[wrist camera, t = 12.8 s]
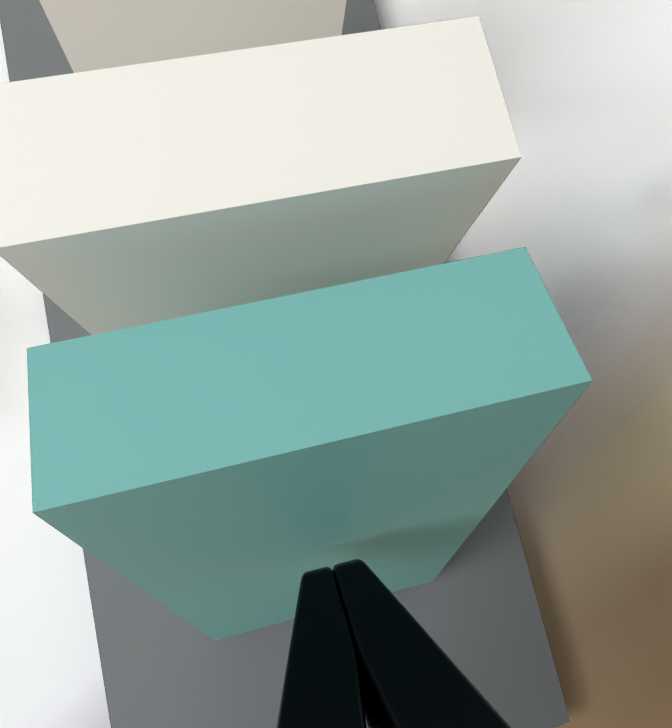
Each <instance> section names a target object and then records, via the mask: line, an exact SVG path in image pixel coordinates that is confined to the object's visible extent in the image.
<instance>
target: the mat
mask: <svg viewBox="0 0 672 728" xmlns="http://www.w3.org/2000/svg"><path fill="white" fill-rule="evenodd" d="M0 23H1V29H2V36H3V42H4V48H5V55H6V61H7V67H8V74H9V80H10V82H14V81H21V80H28V79H35V78H42V77H50V76H57V75H64V74H71V73H74V72H73V70H72V68H71V66H70V64H69V62H68V60H67V57H66V55H65V53H64V51H63V49H62V47H61V45H60V43H59V41H58V39H57V37H56V34H55V32H54V30H53V28H52V26H51V24H50V22H49V20H48V18H47V16H46V13H45V11H44V9H43V7H42V5H41V3H40V1H39V0H0ZM376 30H381V27H380V24H379V20H378V16H377V13H376V9H375V5H374V2H373V0H346V7H345V14H344V21H343V28H342V35H348V34H355V33H362V32H369V31H376ZM444 263H445V262H444ZM43 297H44V303H45V310H46V316H47V323H48V329H49V335H50V342H51V343H55V342H60V341H65V340H70V339H75V338H80V337H85V336H89V335H91V334H90V333H89V332H88V331H86V330H85V329H84V328H83V327H82V326H81V325H80V324H78V323H77V322H76V321H75V320H74V319H73V318H71V317H70V316H69V315H68V314H67V313H66V312H65V311H63V310H62V309H61V308H60V307H59V306H58V305H56V304H55V303H54V302H53V301H52V300H51V299H50V298H48V297H47V296H46V295H45V294H44V293H43ZM83 552H84V559H85V565H86V571H87V578H88V584H89V590H90V597H91V603H92V610H93V616H94V622H95V629H96V635H97V642H98V648H99V654H100V661H101V667H102V673H103V680H104V686H105V693H106V699H107V705H108V712H109V718H110V724H111V728H276V724H277V718H278V712H279V706H280V700H281V694H282V688H283V682H284V676H285V670H286V665H287V659H288V653H289V647H290V641H291V635H292V629H293V623H294V619H292V620H289V621H285V622H281V623H278V624H274V625H270V626H267V627H263V628H259V629H256V630H252V631H248V632H245V633H241V634H237V635H234V636H230V637H226V638H223V639H219V640H213V639H212V638H210V637H209V636H208V635H206V634H205V633H203V632H202V631H200V630H199V629H198V628H196V627H195V626H193V625H192V624H190V623H189V622H188V621H186V620H185V619H183V618H182V617H181V616H179V615H178V614H176V613H175V612H173V611H172V610H171V609H169V608H168V607H166V606H165V605H163V604H162V603H161V602H159V601H158V600H156V599H155V598H153V597H152V596H151V595H149V594H148V593H146V592H145V591H144V590H142V589H141V588H139V587H138V586H136V585H135V584H134V583H132V582H131V581H129V580H128V579H126V578H125V577H124V576H122V575H121V574H119V573H118V572H117V571H115V570H114V569H112V568H111V567H109V566H108V565H107V564H105V563H104V562H102V561H101V560H99V559H98V558H97V557H95V556H94V555H92V554H91V553H89V552H88V551H87V550H85V549H84V548H83ZM392 594H393V595H394V596H395V597H396V598H397V599H398V600H399V601H400V603H401V604H402V605H403V606H404V607H405V608H406V609H407V611H408V612H409V613H410V614H411V615H412V616H413V617H414V618H415V620H416V621H417V622H418V623H419V624H420V625H421V626H422V627H423V629H424V630H425V631H426V632H427V633H428V634H429V635H430V636H431V638H432V639H433V640H434V641H435V642H436V643H437V644H438V646H439V647H440V648H441V649H442V650H443V651H444V652H445V653H446V655H447V656H448V657H449V658H450V659H451V660H452V661H453V662H454V664H455V665H456V666H457V667H458V668H459V669H460V670H461V671H462V673H463V674H464V675H465V676H466V677H467V678H468V679H469V681H470V682H471V683H472V684H473V685H474V686H475V687H476V688H477V690H478V691H479V692H480V693H481V694H482V695H483V696H484V697H485V699H486V700H487V701H488V702H489V703H490V704H491V705H492V706H493V708H494V709H495V710H496V711H497V712H498V713H499V714H500V715H501V717H502V718H503V719H504V720H505V721H506V722H507V723H508V725H509V726H510V727H511V728H552V727H555V726H558V725H562V724H565V723H568V722H570V719H569V715H568V712H567V708H566V704H565V701H564V697H563V693H562V690H561V686H560V682H559V679H558V675H557V671H556V668H555V664H554V660H553V657H552V653H551V649H550V646H549V642H548V638H547V635H546V631H545V627H544V624H543V620H542V616H541V613H540V609H539V606H538V602H537V598H536V595H535V591H534V587H533V584H532V580H531V576H530V573H529V569H528V565H527V562H526V558H525V554H524V551H523V547H522V543H521V540H520V536H519V532H518V529H517V525H516V521H515V518H514V514H513V510H512V507H511V503H510V499H509V496H508V492H507V488H506V490H505V491H504V492H503V493H502V495H501V496H500V497H499V498H498V500H497V501H496V502H495V503H494V505H493V506H492V507H491V508H490V510H489V511H488V512H487V513H486V515H485V516H484V517H483V518H482V520H481V521H480V522H479V523H478V525H477V526H476V527H475V528H474V530H473V531H472V532H471V534H470V535H469V536H468V537H467V539H466V540H465V541H464V542H463V544H462V545H461V546H460V547H459V549H458V550H457V551H456V552H455V554H454V555H453V556H452V557H451V559H450V560H449V561H448V562H447V564H446V565H445V566H444V567H443V569H442V570H441V571H440V572H439V574H438V575H437V576H436V578H435V579H434V580H433V581H432V582H428V583H424V584H421V585H417V586H413V587H410V588H406V589H402V590H399V591H395V592H392ZM366 725H367V722H366ZM367 728H368V726H367Z"/></svg>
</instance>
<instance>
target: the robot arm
mask: <svg viewBox="0 0 672 728" xmlns="http://www.w3.org/2000/svg"><path fill="white" fill-rule="evenodd" d="M366 722H367V725H366ZM367 726H368V728H511V727H510V726H509V725H508V723H507V722H506V721H505V720H504V719H503V718H502V717H501V715H500V714H499V713H498V712H497V711H496V710H495V709H494V708H493V706H492V705H491V704H490V703H489V702H488V701H487V700H486V699H485V697H484V696H483V695H482V694H481V693H480V692H479V691H478V690H477V688H476V687H475V686H474V685H473V684H472V683H471V682H470V681H469V679H468V678H467V677H466V676H465V675H464V674H463V673H462V671H461V670H460V669H459V668H458V667H457V666H456V665H455V664H454V662H453V661H452V660H451V659H450V658H449V657H448V656H447V655H446V653H445V652H444V651H443V650H442V649H441V648H440V647H439V646H438V644H437V643H436V642H435V641H434V640H433V639H432V638H431V636H430V635H429V634H428V633H427V632H426V631H425V630H424V629H423V627H422V626H421V625H420V624H419V623H418V622H417V621H416V620H415V618H414V617H413V616H412V615H411V614H410V613H409V612H408V611H407V609H406V608H405V607H404V606H403V605H402V604H401V603H400V601H399V600H398V599H397V598H396V597H395V596H394V595H393V594H392V592H391V591H390V590H389V589H388V588H387V587H386V586H385V585H384V583H383V582H382V581H381V580H380V579H379V578H378V577H377V576H376V574H375V573H374V572H373V571H372V570H371V569H370V568H369V566H368V565H367V564H366V563H365V562H364V561H362V560H360V559H354V560H350V561H346V562H343V563H339V564H336V565H335V566H334V567H333V571H332V569H331V568H330V567H323V568H319V569H315V570H311V571H307V572H305V573H304V574H303V575H302V577H301V582H300V588H299V593H298V599H297V605H296V611H295V617H294V623H293V629H292V635H291V641H290V647H289V653H288V659H287V665H286V670H285V676H284V682H283V688H282V694H281V700H280V706H279V712H278V718H277V724H276V728H367Z"/></svg>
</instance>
